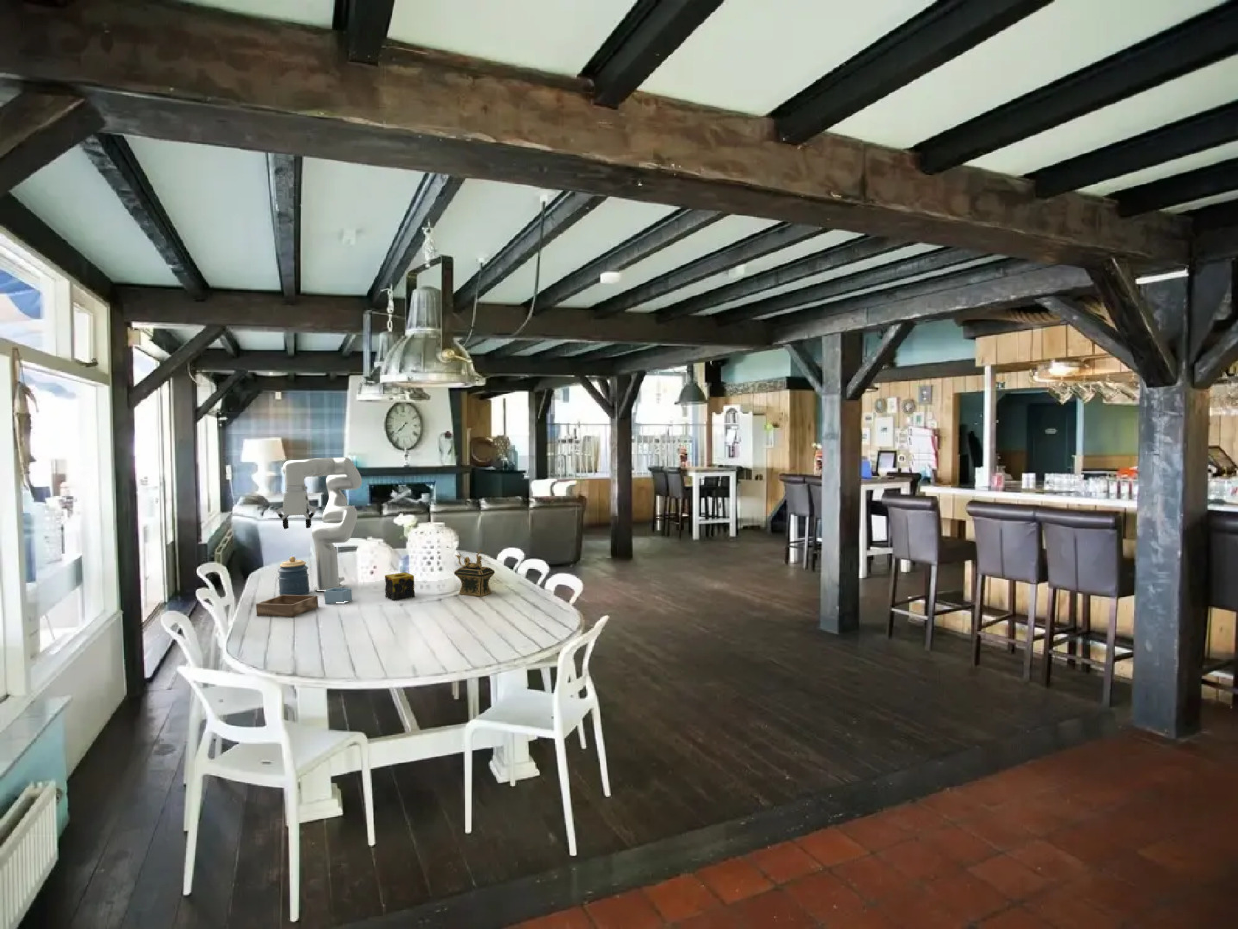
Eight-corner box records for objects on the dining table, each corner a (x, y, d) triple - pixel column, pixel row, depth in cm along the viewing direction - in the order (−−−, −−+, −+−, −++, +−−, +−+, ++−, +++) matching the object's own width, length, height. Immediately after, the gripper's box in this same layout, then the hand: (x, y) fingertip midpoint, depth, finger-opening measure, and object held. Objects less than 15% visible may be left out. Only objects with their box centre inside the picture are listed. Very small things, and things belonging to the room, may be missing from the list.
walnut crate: (283, 606, 311) (283, 594, 311) (318, 607, 307) (317, 595, 306) (256, 615, 296) (256, 603, 296) (292, 617, 292) (291, 605, 291)
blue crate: (334, 600, 319) (333, 587, 319) (352, 600, 317) (351, 588, 316) (325, 603, 313) (324, 591, 313) (342, 604, 310) (342, 591, 310)
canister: (305, 589, 343) (302, 553, 342) (313, 594, 333) (311, 556, 332) (275, 594, 335) (273, 557, 334) (283, 599, 325) (281, 560, 324)
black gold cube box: (385, 597, 321) (383, 575, 321) (407, 593, 327) (405, 571, 327) (393, 601, 313) (391, 578, 312) (415, 597, 319) (414, 575, 318)
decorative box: (497, 592, 322) (495, 549, 321) (482, 597, 313) (480, 552, 312) (463, 589, 332) (461, 546, 331) (448, 593, 324) (446, 550, 322)
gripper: (318, 488, 319) (320, 526, 319) (279, 489, 318) (281, 527, 319) (311, 489, 311) (313, 528, 312) (271, 490, 311) (273, 530, 312)
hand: (297, 528), depth 316 cm, fingers open, 9 cm apart
